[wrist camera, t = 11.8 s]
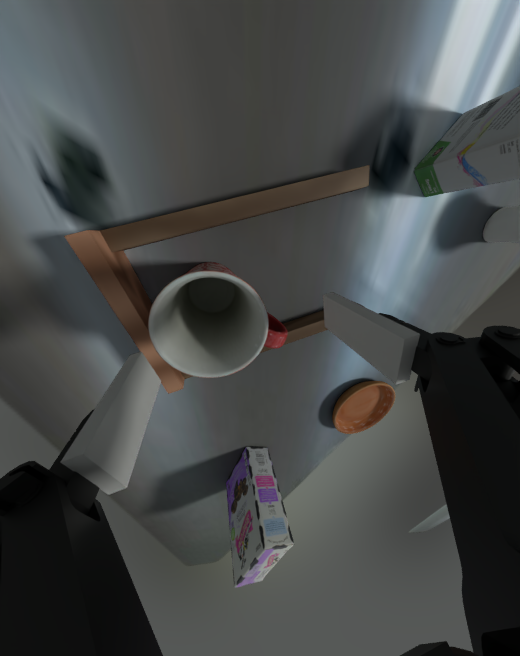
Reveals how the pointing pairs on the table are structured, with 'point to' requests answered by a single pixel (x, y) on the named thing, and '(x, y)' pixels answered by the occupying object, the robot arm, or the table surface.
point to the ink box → (475, 149)
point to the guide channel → (115, 269)
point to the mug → (211, 323)
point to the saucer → (362, 406)
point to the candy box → (256, 517)
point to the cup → (503, 226)
